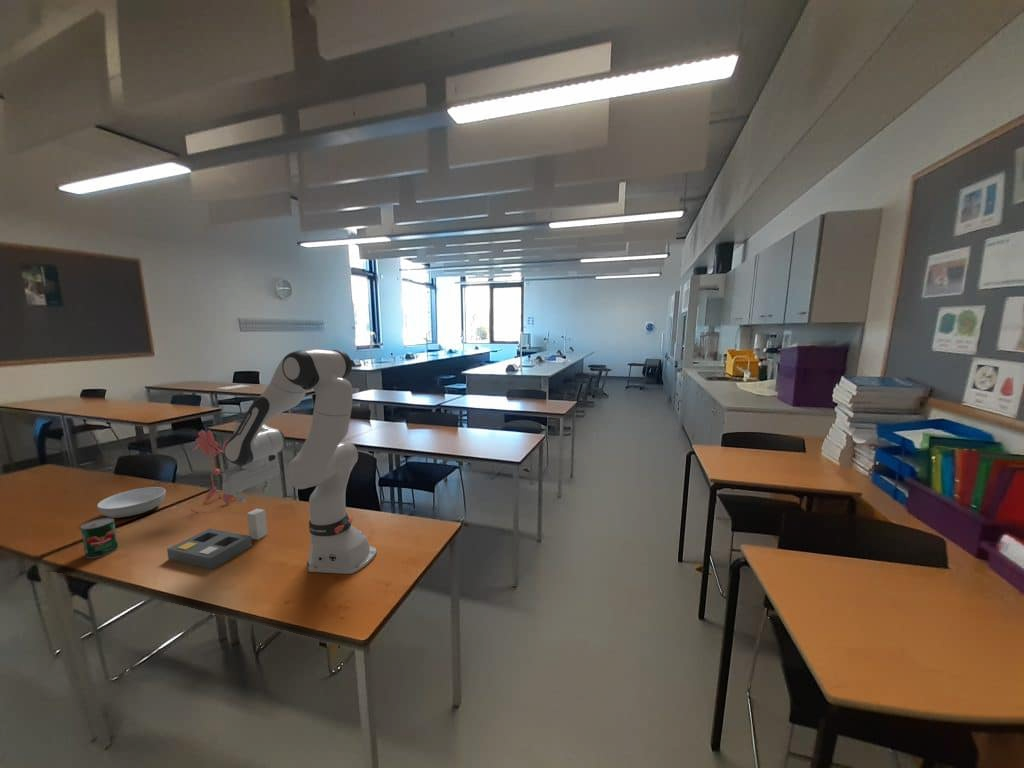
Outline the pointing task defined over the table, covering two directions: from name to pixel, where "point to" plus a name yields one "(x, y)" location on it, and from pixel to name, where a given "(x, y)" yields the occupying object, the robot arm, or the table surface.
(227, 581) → the table surface
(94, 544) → the canned tomato
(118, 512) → the serving bowl
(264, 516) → the plug
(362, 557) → the robot arm
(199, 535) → the socket block
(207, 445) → the figurine
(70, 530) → the table surface
